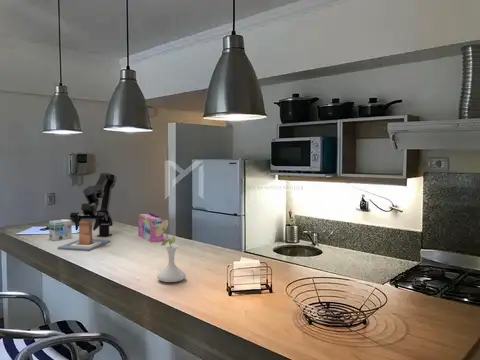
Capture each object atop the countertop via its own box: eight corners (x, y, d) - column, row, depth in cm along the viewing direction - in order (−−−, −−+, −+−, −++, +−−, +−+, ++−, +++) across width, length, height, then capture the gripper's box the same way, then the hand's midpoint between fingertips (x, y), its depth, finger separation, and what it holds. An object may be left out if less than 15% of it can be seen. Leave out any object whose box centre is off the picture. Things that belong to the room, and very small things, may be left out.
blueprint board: (81, 240, 231) (81, 236, 231) (110, 241, 227) (110, 238, 227) (57, 249, 209) (57, 245, 209) (89, 251, 206) (89, 246, 206)
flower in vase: (172, 274, 169) (172, 215, 167) (191, 279, 162) (191, 218, 160) (147, 281, 159) (147, 219, 157) (166, 288, 152) (166, 222, 150)
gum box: (137, 235, 248) (137, 213, 247) (149, 233, 252) (149, 212, 251) (150, 242, 228) (150, 218, 227) (163, 241, 232) (163, 217, 231)
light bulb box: (54, 241, 228) (54, 222, 227) (48, 239, 232) (48, 221, 231) (72, 238, 236) (72, 220, 236) (66, 236, 240) (66, 218, 240)
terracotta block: (83, 244, 216) (82, 220, 215) (92, 244, 216) (92, 220, 215) (79, 246, 211) (79, 222, 210) (88, 246, 211) (88, 222, 210)
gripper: (70, 197, 216) (62, 221, 206) (105, 197, 216) (98, 221, 206) (76, 209, 224) (68, 233, 214) (110, 210, 225) (103, 233, 214)
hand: (84, 230), depth 212 cm, fingers open, 9 cm apart
